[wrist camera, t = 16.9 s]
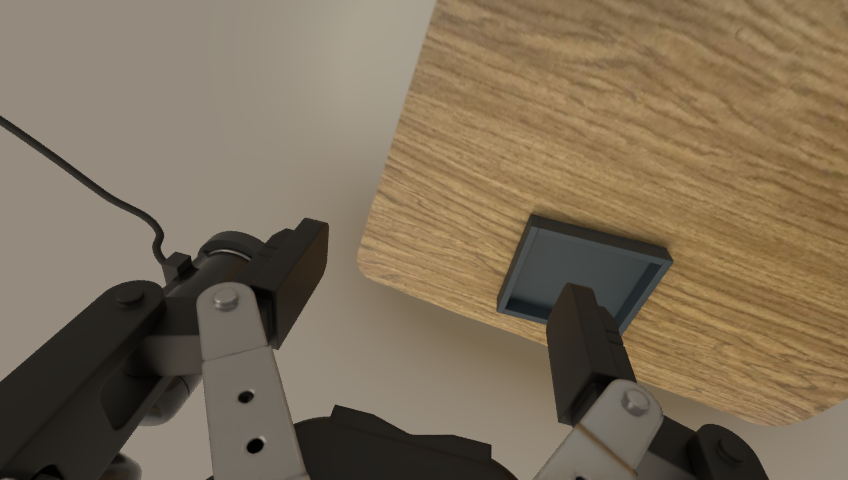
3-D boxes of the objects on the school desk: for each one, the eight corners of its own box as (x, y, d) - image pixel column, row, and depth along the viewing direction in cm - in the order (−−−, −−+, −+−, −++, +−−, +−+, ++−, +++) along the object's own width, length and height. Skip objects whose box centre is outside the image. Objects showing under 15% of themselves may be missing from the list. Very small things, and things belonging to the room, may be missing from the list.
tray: (496, 298, 50) (496, 312, 48) (530, 214, 42) (531, 225, 40) (612, 328, 49) (616, 343, 47) (666, 247, 42) (674, 261, 40)
